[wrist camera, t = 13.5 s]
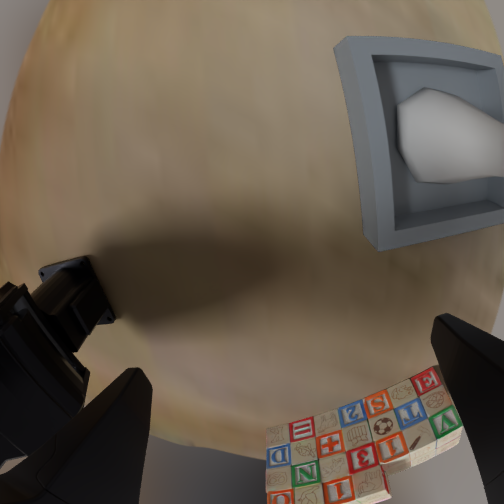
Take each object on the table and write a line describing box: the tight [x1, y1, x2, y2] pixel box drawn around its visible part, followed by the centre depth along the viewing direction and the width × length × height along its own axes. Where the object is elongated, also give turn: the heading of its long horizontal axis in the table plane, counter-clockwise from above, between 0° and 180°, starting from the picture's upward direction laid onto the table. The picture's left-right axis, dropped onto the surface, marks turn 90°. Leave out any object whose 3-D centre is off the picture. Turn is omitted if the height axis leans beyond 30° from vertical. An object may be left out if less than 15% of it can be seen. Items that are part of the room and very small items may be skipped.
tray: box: [333, 36, 504, 252], centre depth 15 cm, size 13×13×3 cm
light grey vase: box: [397, 87, 504, 185], centre depth 11 cm, size 7×7×10 cm
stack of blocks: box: [266, 367, 463, 504], centre depth 24 cm, size 21×6×12 cm, turn 117°
